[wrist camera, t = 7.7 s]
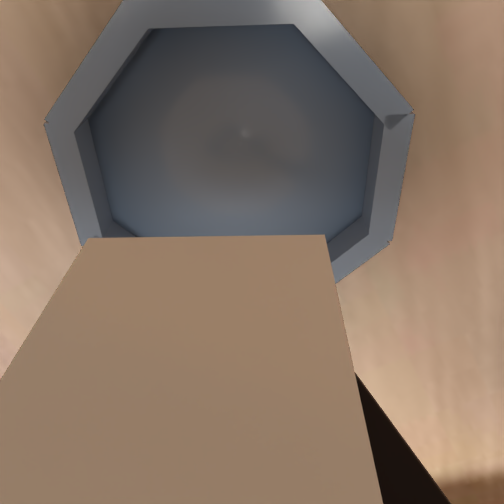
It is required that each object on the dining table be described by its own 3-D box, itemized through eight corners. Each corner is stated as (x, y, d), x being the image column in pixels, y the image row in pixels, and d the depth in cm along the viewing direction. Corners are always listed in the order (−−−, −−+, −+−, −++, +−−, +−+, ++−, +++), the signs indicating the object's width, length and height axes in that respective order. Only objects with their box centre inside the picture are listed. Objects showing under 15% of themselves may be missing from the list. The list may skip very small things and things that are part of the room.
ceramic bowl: (414, -24, 15) (439, -20, 13) (368, 278, 22) (379, 311, 20) (39, -10, 15) (4, -4, 13) (116, 281, 23) (102, 314, 20)
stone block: (324, 234, 9) (398, 575, 4) (312, 389, 12) (348, 700, 7) (87, 237, 9) (-117, 567, 4) (132, 389, 12) (40, 693, 7)
